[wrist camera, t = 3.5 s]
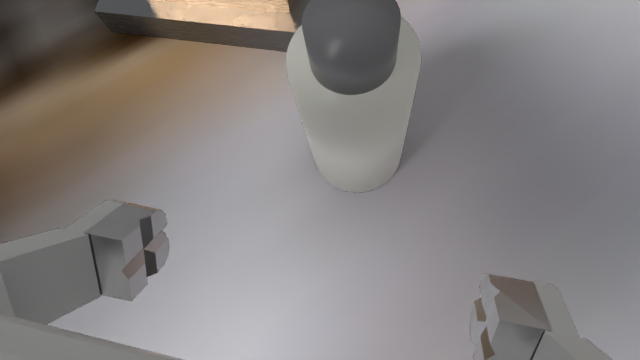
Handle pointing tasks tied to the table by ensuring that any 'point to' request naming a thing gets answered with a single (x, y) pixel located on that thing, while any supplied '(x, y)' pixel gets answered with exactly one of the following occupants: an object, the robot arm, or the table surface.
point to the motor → (208, 20)
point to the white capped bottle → (354, 88)
